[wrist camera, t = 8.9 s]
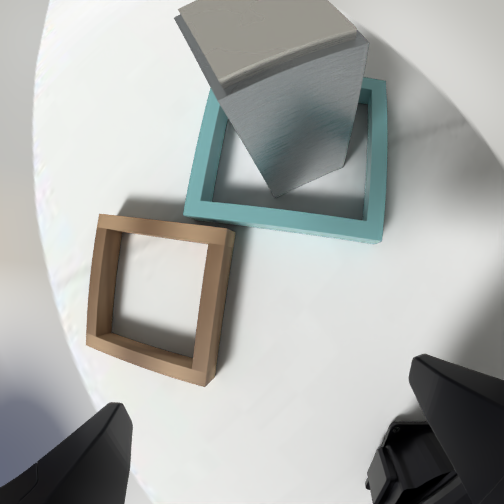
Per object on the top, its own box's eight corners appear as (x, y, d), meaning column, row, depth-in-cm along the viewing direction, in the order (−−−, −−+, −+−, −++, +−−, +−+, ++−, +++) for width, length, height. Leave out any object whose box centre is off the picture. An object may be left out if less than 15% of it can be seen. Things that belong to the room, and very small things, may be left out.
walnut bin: (235, 232, 20) (227, 228, 18) (214, 377, 19) (204, 386, 17) (115, 217, 22) (99, 213, 20) (101, 340, 22) (86, 344, 20)
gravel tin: (343, 167, 19) (370, 32, 6) (274, 197, 19) (212, 92, 7) (308, 108, 19) (290, -37, 7) (244, 137, 20) (168, 10, 8)
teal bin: (380, 95, 18) (385, 80, 16) (374, 244, 18) (381, 241, 16) (223, 84, 21) (215, 70, 19) (195, 220, 20) (182, 215, 18)
